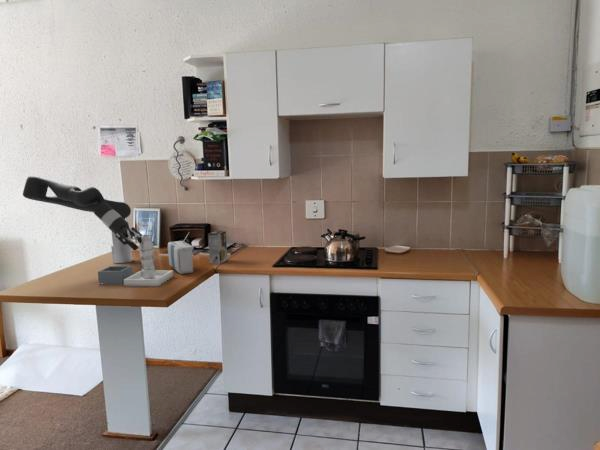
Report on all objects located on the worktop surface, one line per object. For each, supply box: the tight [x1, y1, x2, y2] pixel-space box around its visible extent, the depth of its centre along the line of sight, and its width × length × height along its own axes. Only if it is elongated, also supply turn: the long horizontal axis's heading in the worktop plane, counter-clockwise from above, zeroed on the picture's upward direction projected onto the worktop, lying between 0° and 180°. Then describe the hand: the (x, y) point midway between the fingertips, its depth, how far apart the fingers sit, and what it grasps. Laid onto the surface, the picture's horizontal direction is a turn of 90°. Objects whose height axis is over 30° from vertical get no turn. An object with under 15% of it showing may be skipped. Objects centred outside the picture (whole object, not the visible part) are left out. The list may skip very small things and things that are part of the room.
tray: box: [123, 269, 174, 287], centre depth 195 cm, size 16×16×3 cm
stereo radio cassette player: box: [167, 231, 194, 275], centre depth 214 cm, size 21×8×20 cm, turn 29°
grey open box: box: [97, 265, 134, 285], centre depth 197 cm, size 11×10×6 cm
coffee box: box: [207, 230, 228, 265], centre depth 230 cm, size 9×6×16 cm
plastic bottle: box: [138, 234, 156, 279], centre depth 194 cm, size 6×7×20 cm
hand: (141, 247), depth 193 cm, fingers open, 8 cm apart
